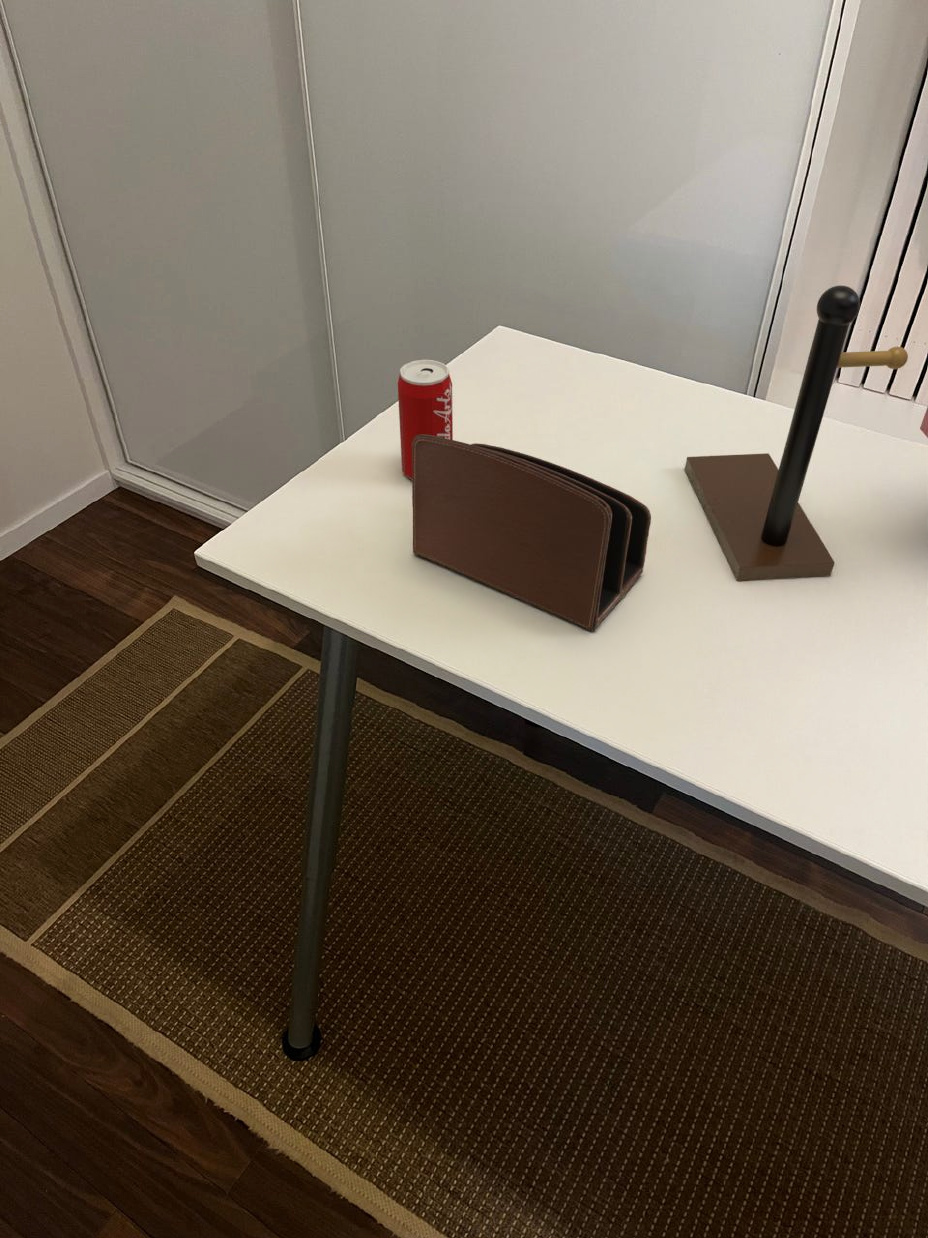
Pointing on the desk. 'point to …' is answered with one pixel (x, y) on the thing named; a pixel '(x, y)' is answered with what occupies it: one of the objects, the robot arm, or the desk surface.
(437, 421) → the soda can
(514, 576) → the letter holder
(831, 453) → the desk surface
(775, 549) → the stand
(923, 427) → the pink block with hole
